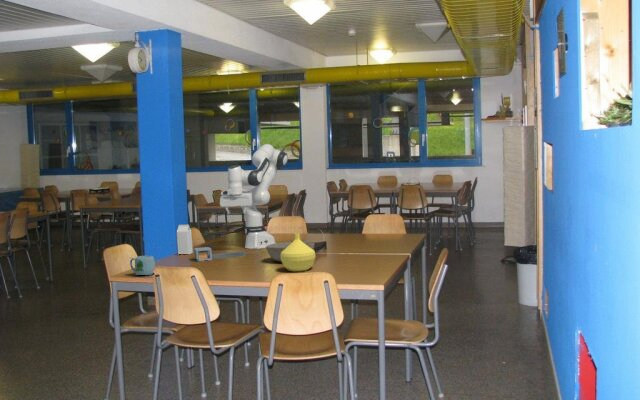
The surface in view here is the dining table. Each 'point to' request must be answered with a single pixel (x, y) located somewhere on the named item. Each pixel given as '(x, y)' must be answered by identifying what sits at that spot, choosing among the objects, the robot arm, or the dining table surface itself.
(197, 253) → the pale blue storage bin
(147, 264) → the mug
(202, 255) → the block
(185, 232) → the milk carton
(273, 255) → the bowl
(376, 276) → the dining table surface
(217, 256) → the rod
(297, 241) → the vase
